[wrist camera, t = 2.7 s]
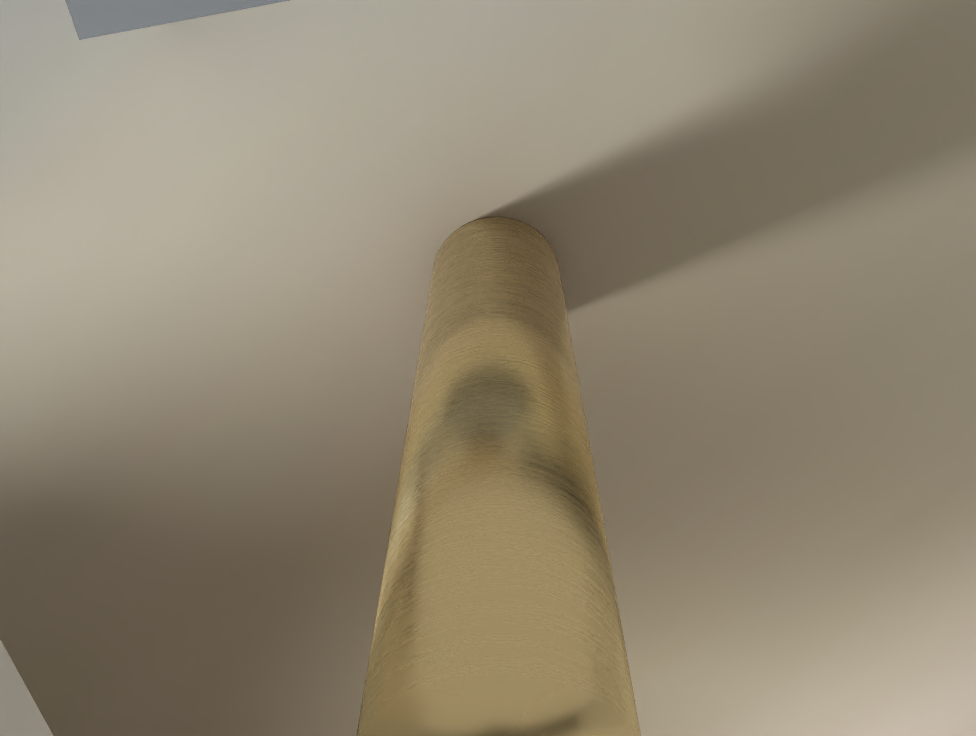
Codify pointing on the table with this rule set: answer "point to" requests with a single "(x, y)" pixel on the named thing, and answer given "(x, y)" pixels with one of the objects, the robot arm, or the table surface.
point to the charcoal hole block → (145, 13)
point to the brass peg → (497, 518)
